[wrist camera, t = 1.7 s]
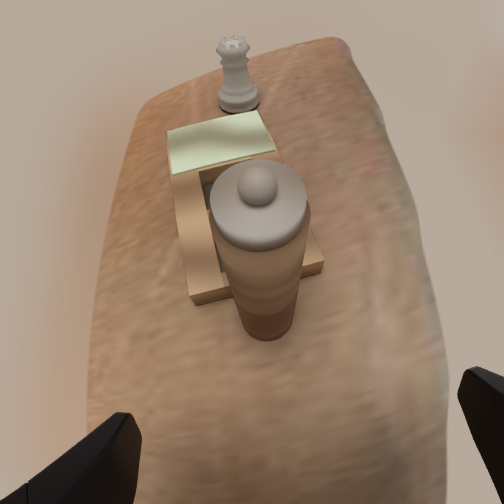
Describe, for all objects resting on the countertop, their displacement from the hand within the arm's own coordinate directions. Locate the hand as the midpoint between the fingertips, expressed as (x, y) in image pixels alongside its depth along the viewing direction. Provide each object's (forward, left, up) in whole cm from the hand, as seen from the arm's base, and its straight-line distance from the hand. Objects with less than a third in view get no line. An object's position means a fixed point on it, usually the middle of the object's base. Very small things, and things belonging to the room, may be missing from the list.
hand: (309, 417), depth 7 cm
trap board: (+17, 0, -13) cm, 21 cm away
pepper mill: (+7, 0, -13) cm, 14 cm away
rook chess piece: (+30, -4, -13) cm, 32 cm away
